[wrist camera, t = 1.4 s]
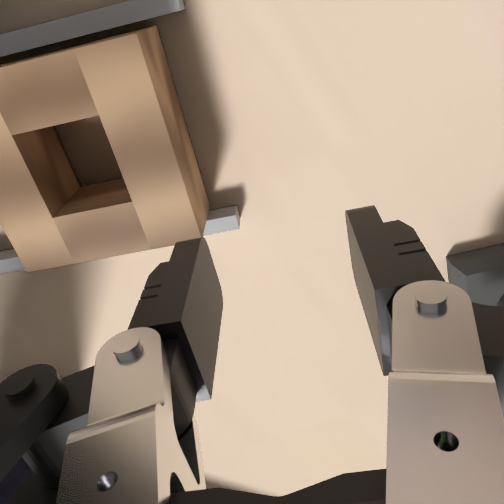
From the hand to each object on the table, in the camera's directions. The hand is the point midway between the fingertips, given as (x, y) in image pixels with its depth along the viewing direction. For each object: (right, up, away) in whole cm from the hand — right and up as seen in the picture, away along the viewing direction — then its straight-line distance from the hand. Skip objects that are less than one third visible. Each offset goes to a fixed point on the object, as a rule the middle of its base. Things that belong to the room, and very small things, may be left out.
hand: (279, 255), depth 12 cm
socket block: (-10, +7, +16) cm, 20 cm away
